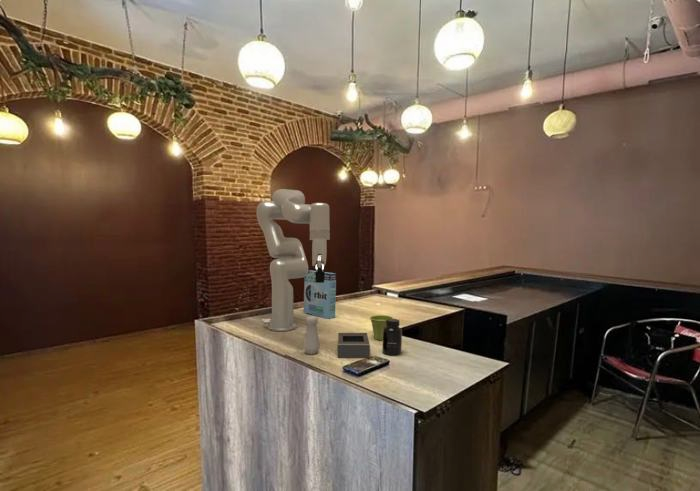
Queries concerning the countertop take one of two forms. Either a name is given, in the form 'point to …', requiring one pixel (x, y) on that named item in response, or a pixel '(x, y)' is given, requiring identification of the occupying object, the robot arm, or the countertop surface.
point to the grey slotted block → (353, 345)
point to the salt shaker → (311, 336)
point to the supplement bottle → (392, 338)
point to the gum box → (320, 295)
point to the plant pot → (379, 325)
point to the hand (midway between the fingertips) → (320, 281)
